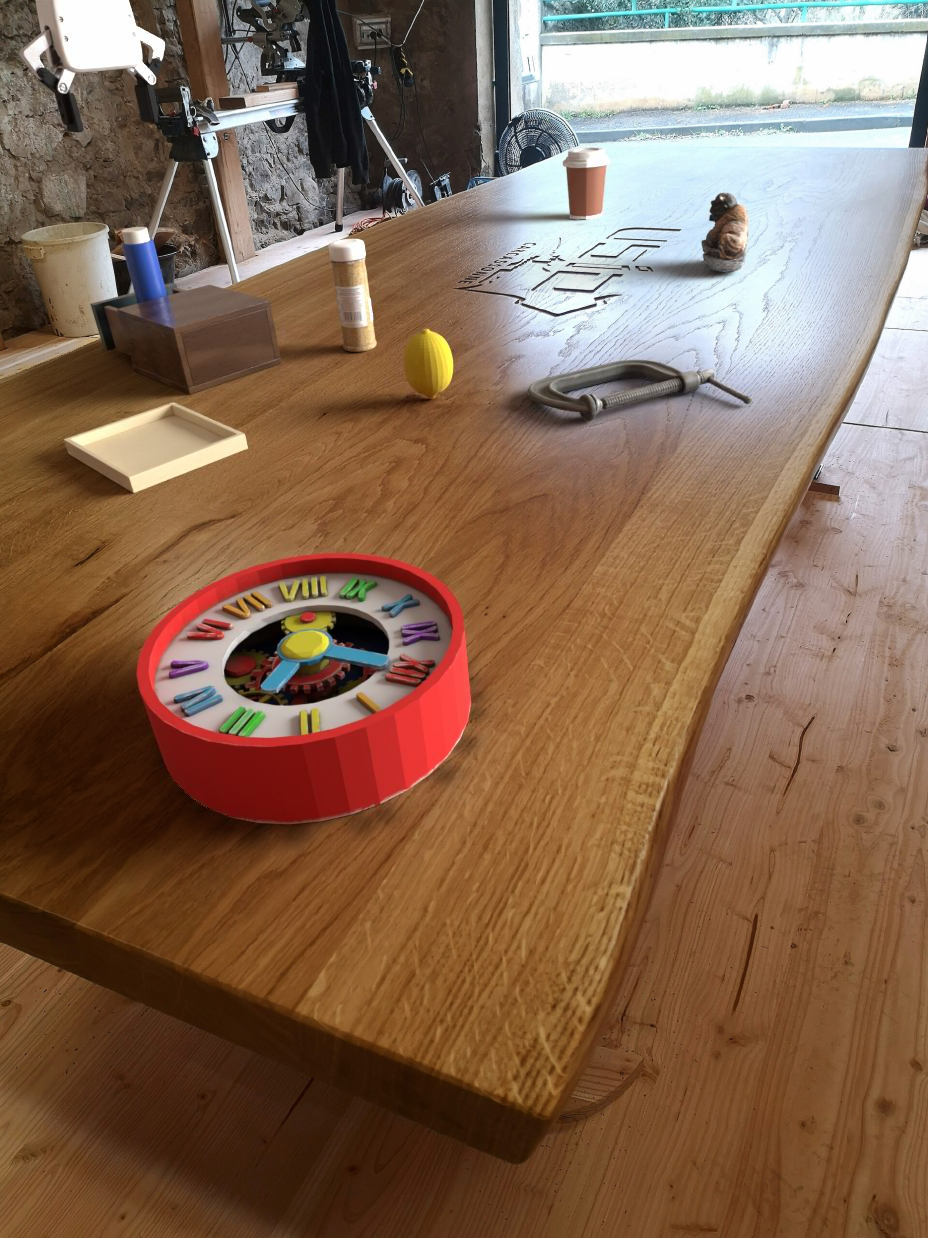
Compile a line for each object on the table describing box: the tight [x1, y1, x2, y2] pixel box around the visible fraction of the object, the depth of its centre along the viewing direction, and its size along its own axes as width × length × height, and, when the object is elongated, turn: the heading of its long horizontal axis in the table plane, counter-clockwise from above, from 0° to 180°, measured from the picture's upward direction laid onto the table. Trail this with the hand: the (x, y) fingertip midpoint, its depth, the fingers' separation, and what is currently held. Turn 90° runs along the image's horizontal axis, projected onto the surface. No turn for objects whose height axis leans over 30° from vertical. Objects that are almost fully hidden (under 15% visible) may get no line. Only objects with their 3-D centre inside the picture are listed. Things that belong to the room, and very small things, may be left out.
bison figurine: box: [701, 191, 749, 273], centre depth 139 cm, size 12×7×10 cm, turn 175°
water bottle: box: [121, 226, 167, 303], centre depth 120 cm, size 4×4×14 cm
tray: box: [63, 401, 249, 494], centre depth 95 cm, size 15×13×2 cm
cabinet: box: [117, 284, 282, 395], centre depth 116 cm, size 15×14×8 cm
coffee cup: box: [562, 146, 611, 221], centre depth 177 cm, size 9×9×12 cm
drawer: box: [90, 282, 187, 356], centre depth 123 cm, size 18×12×6 cm
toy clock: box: [135, 552, 472, 825], centre depth 57 cm, size 20×6×20 cm
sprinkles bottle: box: [327, 238, 377, 353], centre depth 117 cm, size 5×5×14 cm
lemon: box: [403, 328, 454, 400], centre depth 101 cm, size 6×6×8 cm
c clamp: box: [527, 359, 753, 422], centre depth 98 cm, size 20×17×3 cm
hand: (114, 126), depth 109 cm, fingers open, 9 cm apart
